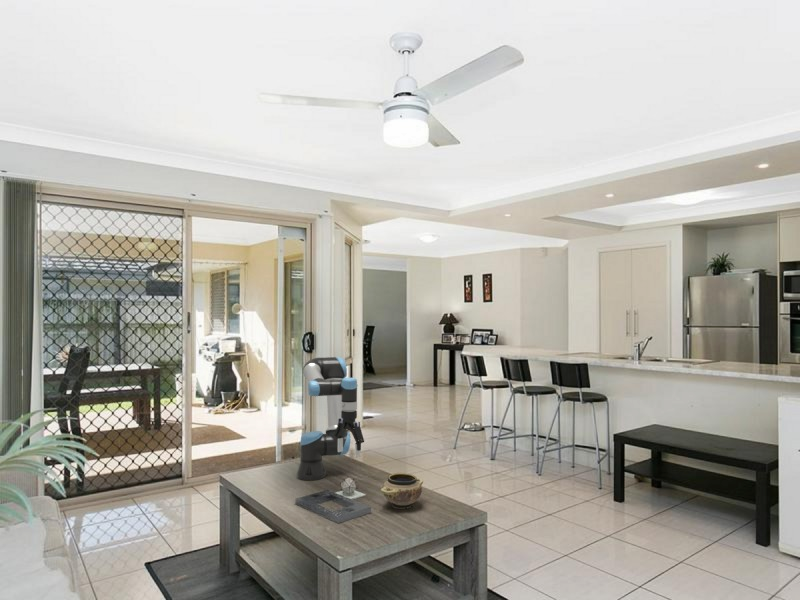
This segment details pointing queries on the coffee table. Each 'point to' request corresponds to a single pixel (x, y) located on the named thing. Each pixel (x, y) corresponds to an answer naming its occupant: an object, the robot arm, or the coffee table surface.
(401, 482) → the ceramic bowl
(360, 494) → the pale green flat panel
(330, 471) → the coffee table surface
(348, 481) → the game die
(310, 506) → the dark grey rectangular frame
